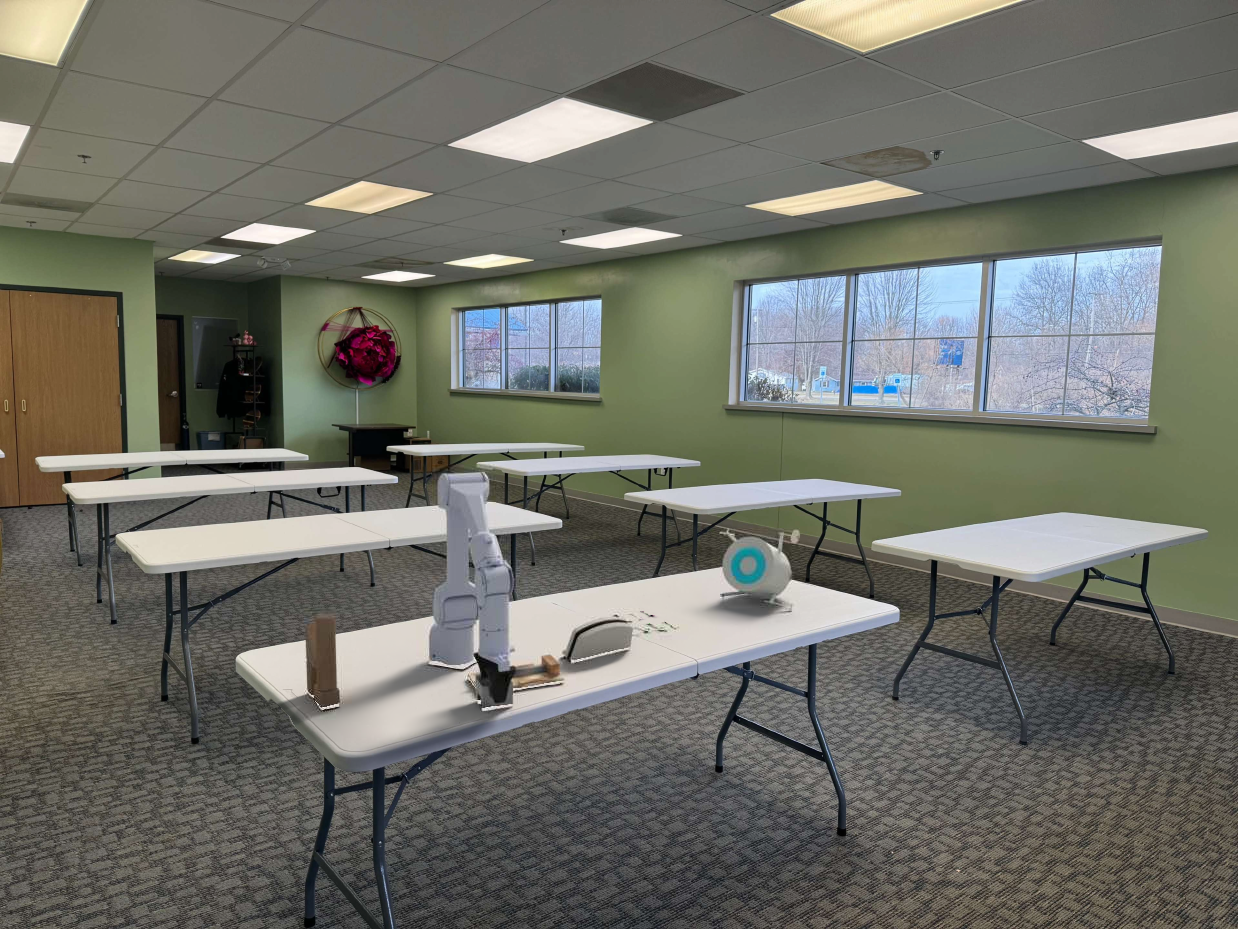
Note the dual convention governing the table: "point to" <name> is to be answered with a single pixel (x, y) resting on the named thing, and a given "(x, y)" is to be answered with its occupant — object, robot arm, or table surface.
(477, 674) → the rail
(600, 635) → the grey rounded block
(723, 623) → the table surface
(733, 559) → the satellite
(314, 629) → the wooden block
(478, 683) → the clip
